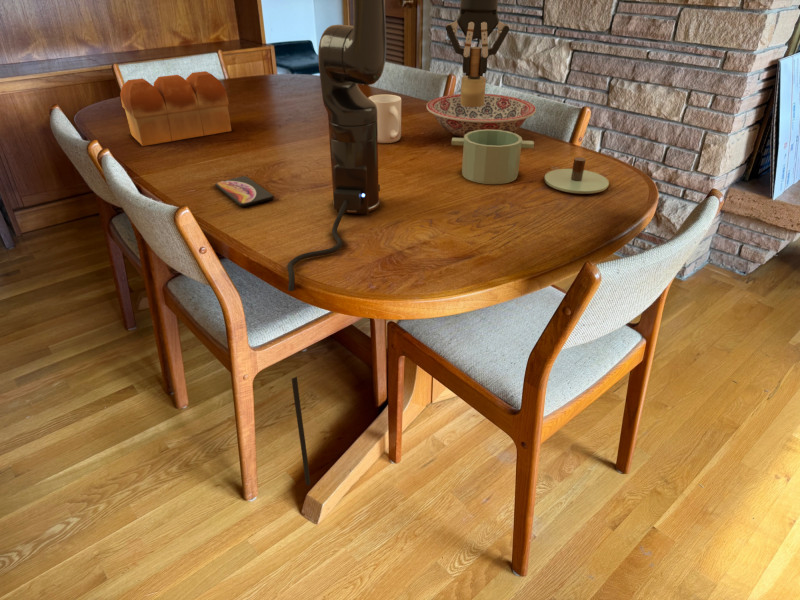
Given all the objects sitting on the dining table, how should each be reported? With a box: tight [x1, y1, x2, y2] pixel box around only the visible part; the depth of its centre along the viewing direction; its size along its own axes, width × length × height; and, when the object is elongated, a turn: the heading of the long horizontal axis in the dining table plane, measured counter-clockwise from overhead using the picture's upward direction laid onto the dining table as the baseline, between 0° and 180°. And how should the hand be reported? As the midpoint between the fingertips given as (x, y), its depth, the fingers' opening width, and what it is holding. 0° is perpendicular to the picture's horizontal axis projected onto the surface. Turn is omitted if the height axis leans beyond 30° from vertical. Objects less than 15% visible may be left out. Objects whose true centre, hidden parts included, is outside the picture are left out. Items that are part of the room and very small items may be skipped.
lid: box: [543, 156, 610, 195], centre depth 125 cm, size 14×14×6 cm
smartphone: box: [215, 175, 274, 208], centre depth 121 cm, size 8×1×15 cm
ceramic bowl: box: [426, 93, 537, 138], centre depth 155 cm, size 29×29×8 cm
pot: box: [451, 129, 535, 185], centre depth 129 cm, size 13×18×8 cm
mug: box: [368, 94, 402, 144], centre depth 150 cm, size 9×12×11 cm
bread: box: [119, 71, 232, 147], centre depth 154 cm, size 25×12×15 cm, turn 125°
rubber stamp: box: [460, 46, 487, 107], centre depth 122 cm, size 5×5×12 cm
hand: (474, 75), depth 122 cm, fingers closed on rubber stamp, 2 cm apart
